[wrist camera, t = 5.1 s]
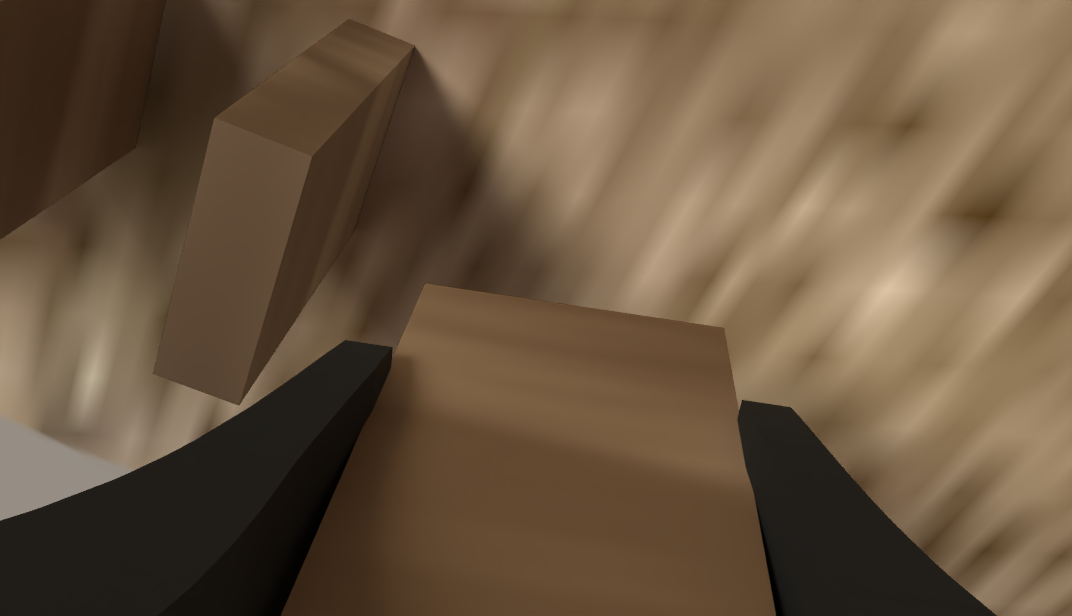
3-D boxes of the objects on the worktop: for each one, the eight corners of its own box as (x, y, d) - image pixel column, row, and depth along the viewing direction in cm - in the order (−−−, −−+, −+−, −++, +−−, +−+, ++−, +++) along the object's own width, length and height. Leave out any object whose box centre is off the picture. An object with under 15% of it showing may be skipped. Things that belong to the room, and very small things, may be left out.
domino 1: (73, 123, 21) (-167, 256, 15) (107, -80, 19) (-152, -26, 13) (135, 147, 21) (-75, 290, 15) (176, -52, 20) (-46, 15, 13)
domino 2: (293, 208, 22) (153, 373, 15) (348, 19, 20) (214, 117, 13) (353, 232, 22) (239, 405, 16) (414, 45, 20) (312, 156, 14)
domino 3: (704, 408, 15) (760, 853, 9) (418, 365, 15) (262, 773, 9) (723, 327, 14) (799, 742, 8) (424, 283, 14) (262, 659, 8)
